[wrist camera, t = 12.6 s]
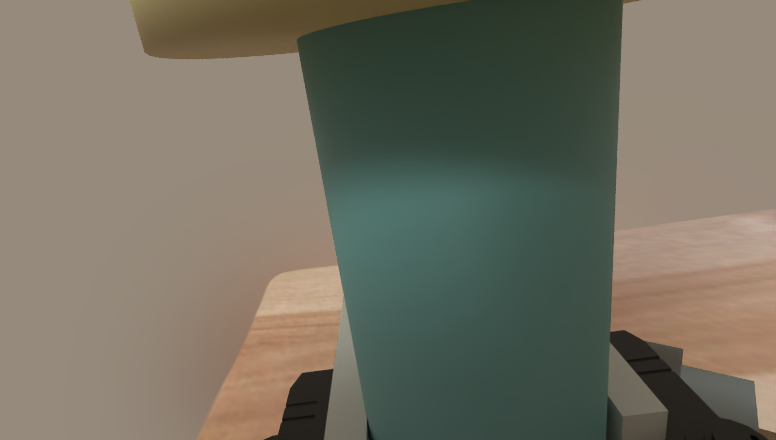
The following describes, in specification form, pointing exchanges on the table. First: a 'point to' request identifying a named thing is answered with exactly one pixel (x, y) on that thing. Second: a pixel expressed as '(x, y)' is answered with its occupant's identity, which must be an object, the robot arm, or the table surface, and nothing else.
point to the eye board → (717, 389)
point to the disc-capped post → (454, 195)
